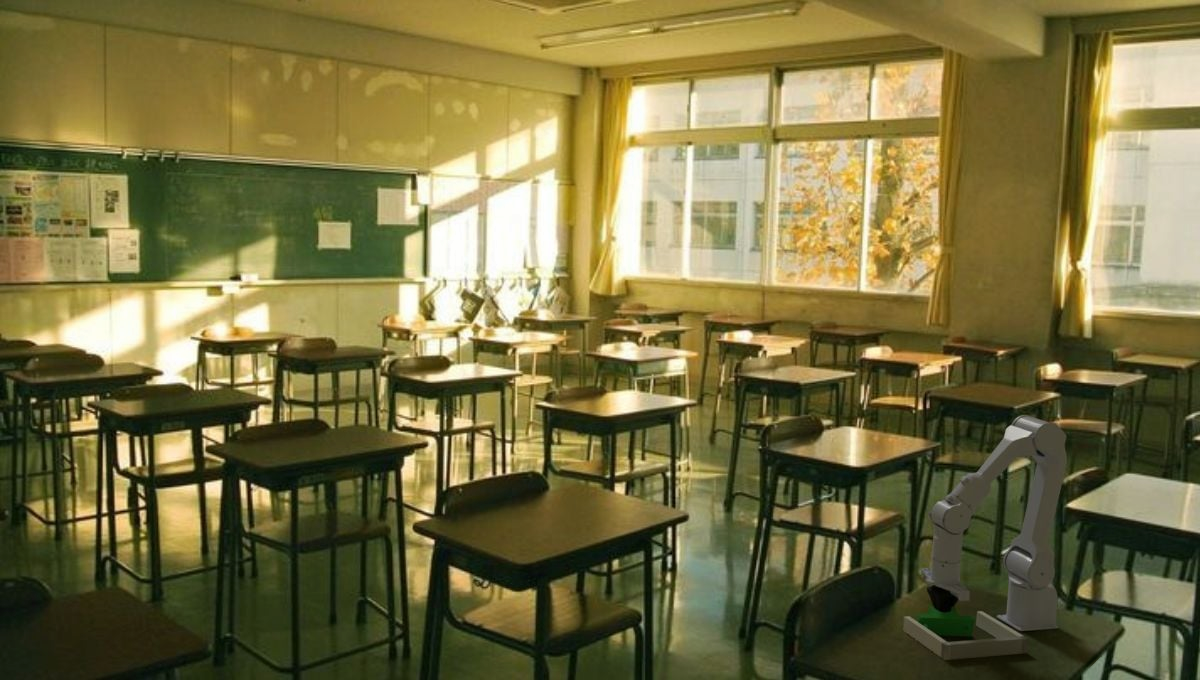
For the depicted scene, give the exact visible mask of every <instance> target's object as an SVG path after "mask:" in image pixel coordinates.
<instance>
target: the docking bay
mask: <svg viewBox="0 0 1200 680" xmlns="http://www.w3.org/2000/svg"><path fill="white" fill-rule="evenodd" d="M902 626H903V629H902V630H903V632H904V633H906V634H907V635H908V634H909V636H910V637H911V638H913V639H914V638H915V639H914V640H915V641H917V642H918V641H919V643H920V644H921V645H922V646H924V647H925V648H927V649H928V650H929V651H931V652H932V651H933V652H932V653H934V655H937V656H938V657H940V658H941V659H942V660H944V661H948V660H964V659H973V658H974V659H975V658H985V657H987V658H988V657H996V656H997V657H998V656H1009V655H1010V656H1011V655H1022V654H1027V653H1028V643H1029V639H1028V637H1025V636H1024V635H1023V634H1021V633H1019V632H1018V631H1016V630H1015V629H1014V628H1011V627H1009V626H1008V625H1006V624H1004V623H1002V622H1001V621H999V619H998V620H997V619H996V618H995V617H992V616H991V615H989V614H987V613H986V612H984V611H983V610H982V611H979V610H978V611H976V619H975V626H976V627H977V628H980V629H981V630H982V631H985V632H986V633H988V635H990V636H992V637H994V638H984V639H982V638H981V639H972V640H959V641H958V640H957V641H946V639H943V638H942V637H941V636H940V635H936V634H935V633H933V632H932V631H930V630H929V629H927V628H926V627H924V626H923V625H921V624H920V623H918V622H917V620H916V619H914V618H913V617H911V616H909V615H908V616H907V615H906V616H903V625H902Z"/></svg>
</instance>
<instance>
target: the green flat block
mask: <svg viewBox="0 0 1200 680" xmlns="http://www.w3.org/2000/svg"><path fill="white" fill-rule="evenodd" d="M916 619H917V620H916V621H917V622H918V623H920V624H921V625H923V626H924V627H926V628H927V629H929V630H930V631H932V632H933V633H935V634H936V635H938V636H945V637H946V636H947V637H949V636H951V637H967V638H968V637H969V638H970V637H971V638H972V635H973V630H974V627H975V623H976V619H975V617H974V615H959V613H958V610H957V609H956V607H955V606H954V607H951V611H950V612H946V613H944V612H940V611H938V610H936V609H935V608H934V607H933V605H930V606H929V607H928V612H927V613H918V614H917V618H916Z"/></svg>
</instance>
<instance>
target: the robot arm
mask: <svg viewBox="0 0 1200 680" xmlns="http://www.w3.org/2000/svg"><path fill="white" fill-rule="evenodd" d="M1066 440H1067V434H1066V433H1065V432H1064V430H1062V428H1061V426H1059V424H1057V423H1055V422H1048V421H1046V420H1042V419H1039V418H1036V417H1034V416H1031V415H1028V414H1022V415H1019V416H1017V417H1016V418H1015V419H1014V420H1013V421H1012V422H1011V424H1010V425H1009V426H1008V427H1007V428H1006V429H1005V432H1004V436H1003V438H1002V440H1000V443H998V444H997V446H996V447H995V449H994V450H993V451H992V452H991V454H990V455H989V456H988V457H987V458H986V460H985V462H984V463H983V464H981V467H980V468H979V469H978V470H977V471H976V472H970V473H967V474H966V475H963V476H962V477H960V478H959V481H960V482H959V483H958V484H957V485H956V486H955V487H954V489H953V490H952V491H951V492H949V494H946V496H945V497H944V499H942V500H939V501H937V502H936V503H935V504H934V505H933V507H931V511H929V512H928V517H929V520H930V522H931V523H932V526H933V528H932V531H933V537H932V549H931V551H932V553H931V565H930V566H931V567H930V568H929V567H927V568H926V567H925V568H924V567H923V568H921V569H920V578H921V579H924V580H925V583H926V584H927V585H929V586H927V588H926V591H927V593H928V596H929V598H930V601H931V604H932V605H931V606H933V607H934V608H935V609H936V610H938V611H940V612H944V613H946V612H950V611H951V607H955V605H956V604H957V603H958V601H960V602H967V601H968V602H969V601H970V593H971V591H969V590H968V589H967V588H966V587H965V586H964V584H963V583H962V582H961V580H960V579H961V565H962V564H961V563H962V551H963V536H964V531H965V530H967V529H968V528H969V527H970V524H971V518H972V516H973V515H974V514H973V513H974V512H975V511H976V510H977V509H978V507H979V506H980V505H981V504H982V503H983V502H984V501H985V500H986V498H988V496H989V495H990V494H991V493H992V488H991V484H992V483H993V482H994V481H995V480H996V479H997V478H998V477H999V476H1000V475H1001V474H1002V473H1003V472H1004V471H1005V470H1006V469H1007V468H1008V467H1010V465H1011V464H1013V463H1014V461H1016V460H1017V458H1019V457H1026V456H1027V457H1028V456H1031V458H1033V460H1034V461H1035V463H1036V466H1035V471H1034V475H1033V479H1032V483H1031V488H1030V493H1029V496H1028V501H1027V506H1026V510H1025V514H1024V517H1023V518H1024V519H1023V522H1022V527H1021V530H1020V534H1019V535H1018V536H1016V537H1014V538H1013V539H1012V540H1011V543H1010V546H1009V548H1008V550H1007V551H1005V554H1004V556H1003V560H1002V561H1003V562H1002V563H1003V566H1004V569H1005V570H1006V571H1007V573H1008V575H1007V578H1008V588H1007V589H1008V590H1007V602H1006V613H1005V614H997V615H996V618H997V619H998V620H1000V621H1002V622H1004V623H1005V624H1007V625H1009V626H1011V627H1012V628H1013V629H1014V630H1017V631H1019V632H1026V631H1027V632H1028V631H1042V630H1043V631H1044V630H1054V629H1059V626H1058V625H1057V613H1058V601H1059V600H1058V599H1059V598H1058V597H1059V595H1058V592H1057V590H1056V588H1055V586H1054V585H1053V584H1052V582H1053V580H1054V578H1055V573H1056V571H1055V564H1054V563H1055V562H1054V561H1055V553H1054V551H1053V550H1052V547H1051V545H1050V543H1049V542H1050V541H1049V540H1050V538H1051V537H1050V535H1051V532H1052V528H1053V523H1054V519H1055V515H1056V510H1057V506H1058V502H1059V499H1060V493H1061V489H1062V484H1063V482H1064V477H1065V472H1066V468H1067V464H1068V457H1067V452H1066V451H1067V450H1066V446H1065V445H1066Z"/></svg>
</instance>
